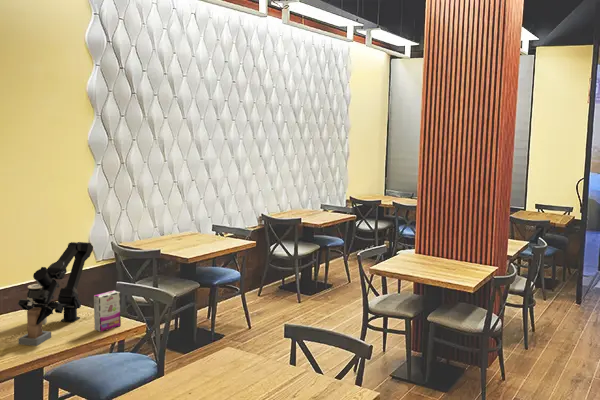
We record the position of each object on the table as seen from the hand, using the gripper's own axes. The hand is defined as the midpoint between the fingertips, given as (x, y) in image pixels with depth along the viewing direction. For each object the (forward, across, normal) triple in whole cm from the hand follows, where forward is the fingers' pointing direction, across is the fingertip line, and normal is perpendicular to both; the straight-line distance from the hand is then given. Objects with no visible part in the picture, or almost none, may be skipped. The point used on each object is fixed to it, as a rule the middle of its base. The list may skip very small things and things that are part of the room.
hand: (32, 323), depth 248 cm
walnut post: (+4, 0, +6) cm, 7 cm away
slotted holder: (+5, 0, +6) cm, 8 cm away
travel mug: (-9, -12, +21) cm, 26 cm away
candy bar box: (-11, +22, +22) cm, 33 cm away
